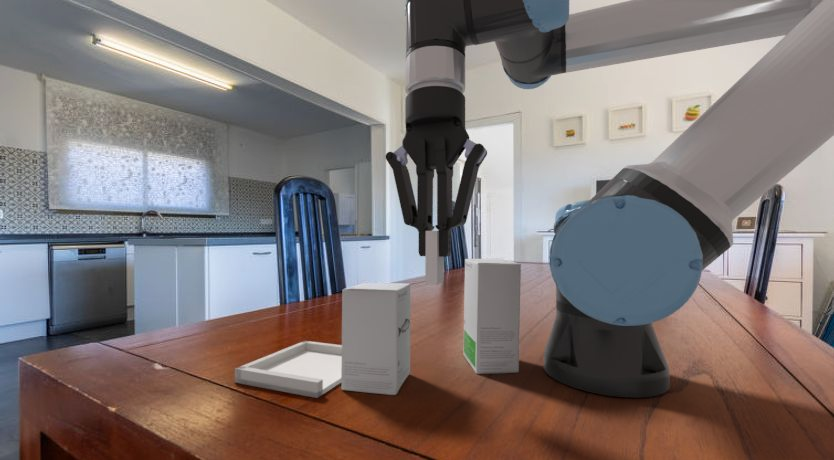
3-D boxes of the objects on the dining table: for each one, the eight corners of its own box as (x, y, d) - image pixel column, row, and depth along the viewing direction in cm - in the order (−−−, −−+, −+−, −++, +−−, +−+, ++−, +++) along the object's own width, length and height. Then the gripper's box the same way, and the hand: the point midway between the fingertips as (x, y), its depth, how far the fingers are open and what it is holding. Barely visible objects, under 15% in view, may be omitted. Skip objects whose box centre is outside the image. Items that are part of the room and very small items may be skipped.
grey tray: (374, 360, 55) (374, 349, 55) (317, 398, 42) (317, 382, 42) (304, 351, 60) (304, 340, 60) (234, 382, 47) (234, 368, 47)
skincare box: (462, 356, 58) (462, 258, 58) (503, 354, 58) (502, 258, 59) (476, 375, 49) (475, 261, 50) (523, 373, 50) (522, 261, 50)
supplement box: (397, 396, 43) (397, 289, 43) (339, 391, 44) (339, 288, 45) (412, 374, 50) (411, 282, 50) (361, 370, 52) (361, 281, 52)
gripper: (492, 99, 47) (492, 282, 46) (400, 111, 51) (399, 278, 51) (480, 74, 40) (480, 290, 39) (375, 91, 44) (373, 284, 44)
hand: (434, 283), depth 45 cm, fingers closed
